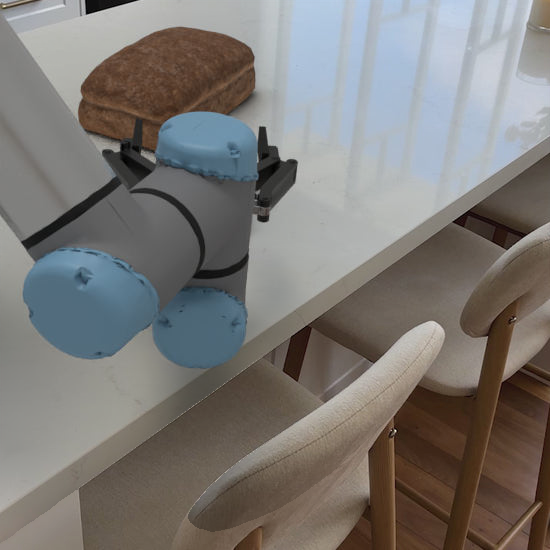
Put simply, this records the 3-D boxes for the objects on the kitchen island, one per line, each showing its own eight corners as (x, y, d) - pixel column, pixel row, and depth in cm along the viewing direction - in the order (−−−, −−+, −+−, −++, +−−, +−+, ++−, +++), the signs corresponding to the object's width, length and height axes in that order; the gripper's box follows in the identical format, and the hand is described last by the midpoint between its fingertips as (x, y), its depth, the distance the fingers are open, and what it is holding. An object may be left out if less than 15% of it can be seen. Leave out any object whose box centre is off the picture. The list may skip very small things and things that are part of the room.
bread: (72, 130, 131) (68, 56, 124) (174, 70, 153) (175, 4, 147) (171, 161, 126) (173, 85, 119) (262, 93, 148) (267, 26, 142)
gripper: (63, 263, 82) (87, 157, 100) (328, 274, 85) (307, 169, 102) (59, 193, 78) (86, 95, 95) (339, 207, 81) (315, 109, 98)
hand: (200, 133), depth 99 cm, fingers open, 13 cm apart
